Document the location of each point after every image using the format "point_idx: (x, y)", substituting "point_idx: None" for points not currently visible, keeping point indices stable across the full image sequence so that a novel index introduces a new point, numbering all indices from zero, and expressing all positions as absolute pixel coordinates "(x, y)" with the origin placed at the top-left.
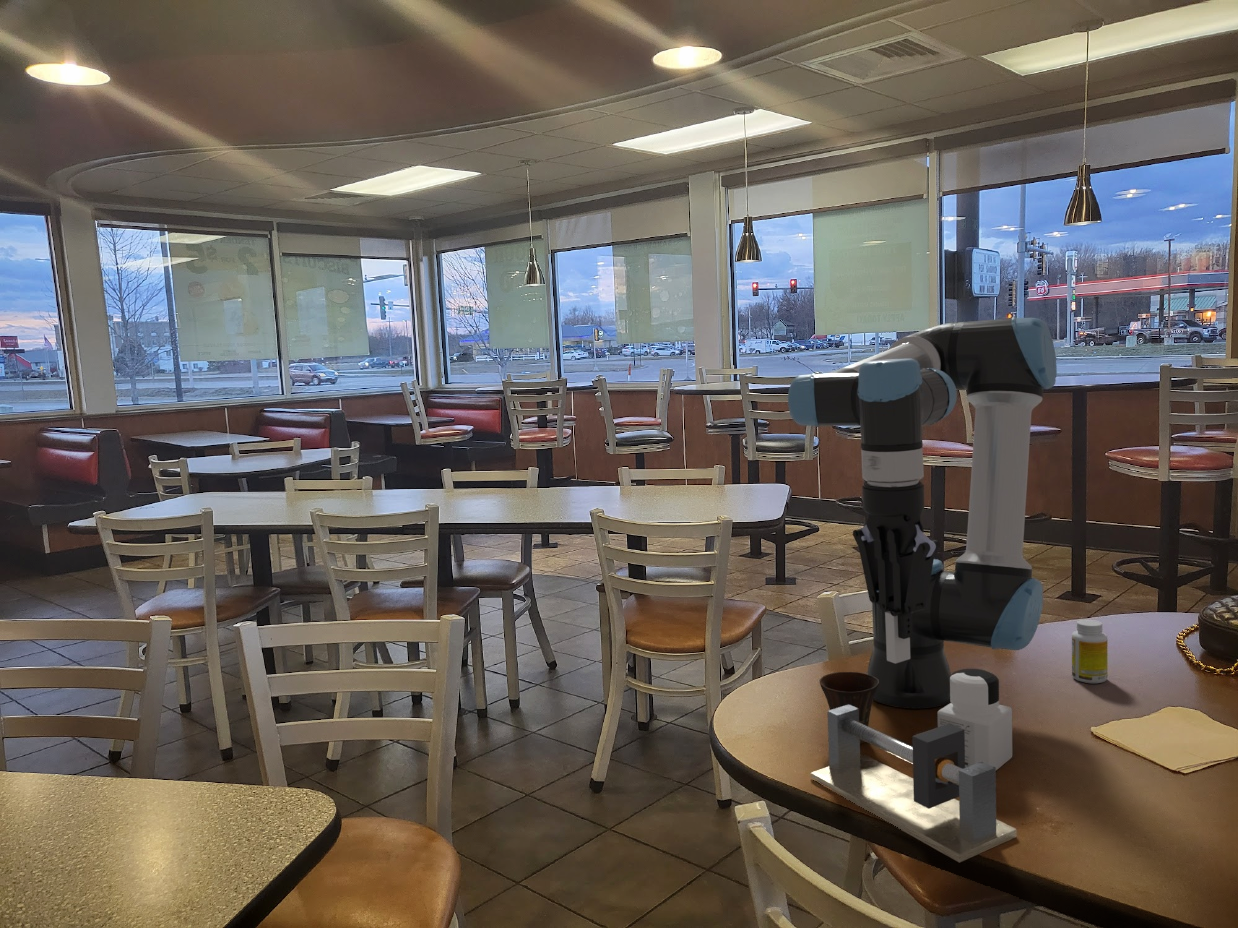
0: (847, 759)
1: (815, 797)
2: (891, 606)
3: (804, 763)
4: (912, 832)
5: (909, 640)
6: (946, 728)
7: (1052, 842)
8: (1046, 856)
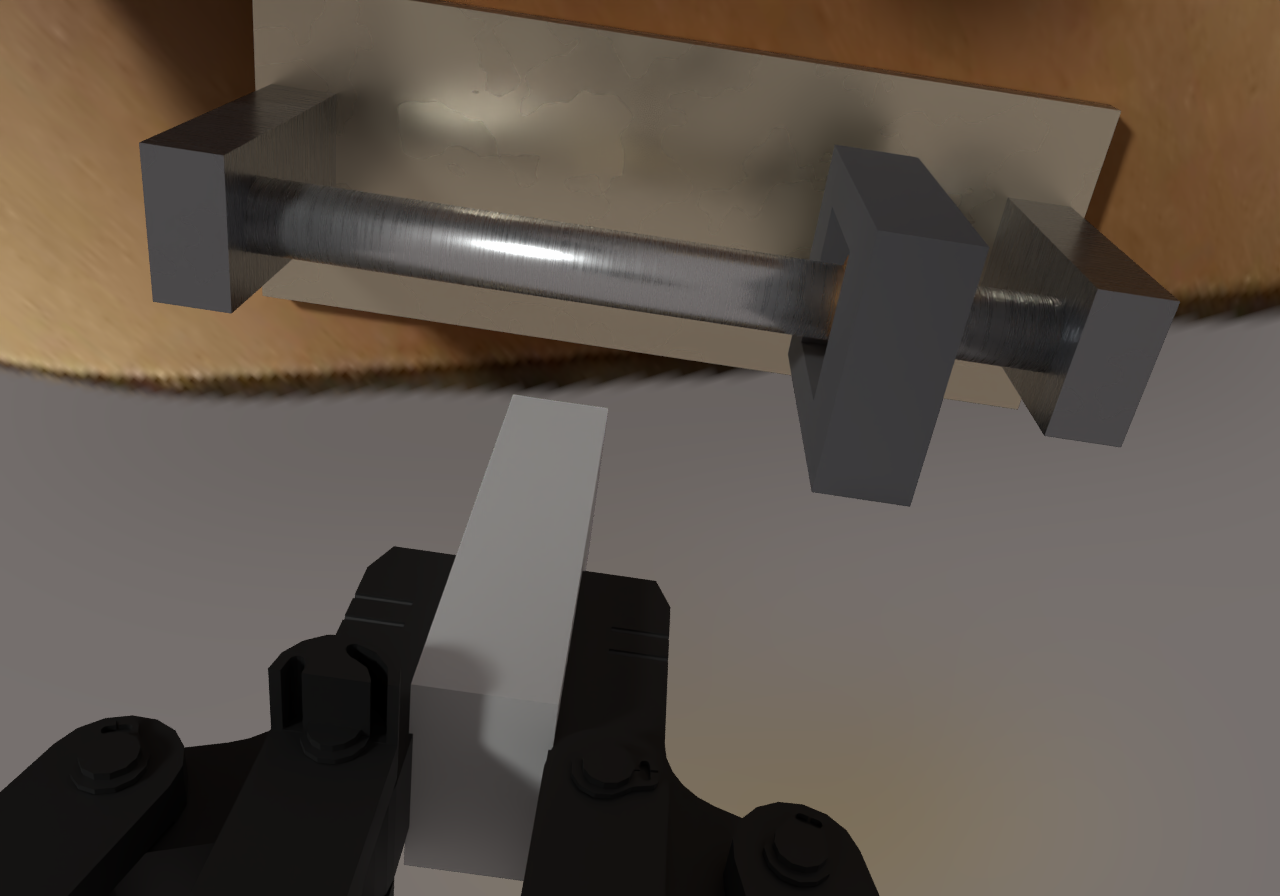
0: (319, 183)
1: (396, 381)
2: (399, 841)
3: (140, 192)
4: None
5: (593, 497)
6: (900, 301)
7: (1241, 39)
8: (1248, 155)
